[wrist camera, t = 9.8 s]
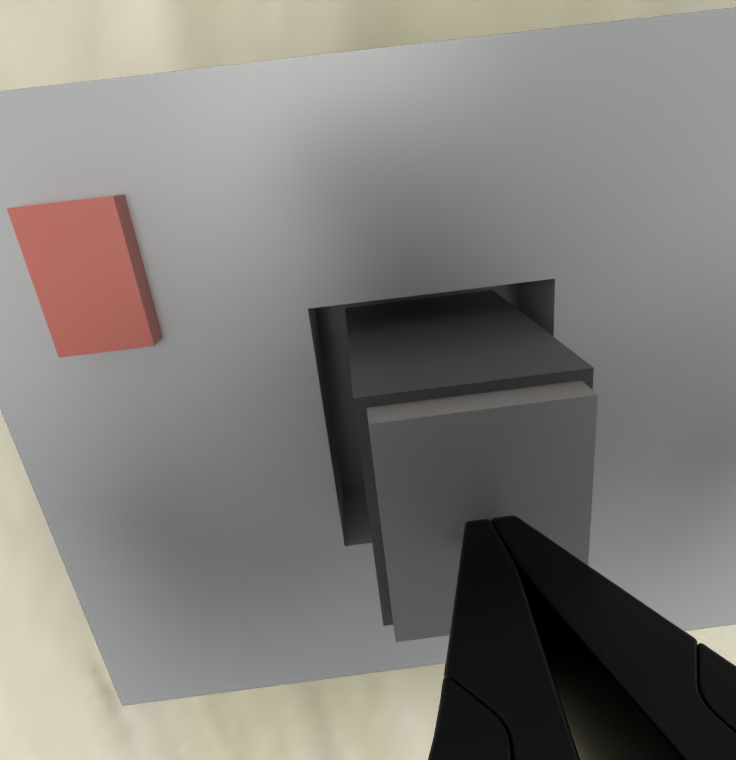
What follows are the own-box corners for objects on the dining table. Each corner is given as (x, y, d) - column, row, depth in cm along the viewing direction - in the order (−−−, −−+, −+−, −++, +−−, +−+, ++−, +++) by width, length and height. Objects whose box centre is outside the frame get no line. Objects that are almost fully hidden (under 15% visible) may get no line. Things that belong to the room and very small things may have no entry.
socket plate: (807, 23, 13) (973, -27, 10) (715, 551, 19) (798, 634, 16) (-23, 119, 13) (-152, 100, 9) (153, 625, 19) (114, 725, 15)
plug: (492, 289, 14) (611, 381, 8) (496, 451, 16) (595, 623, 10) (345, 308, 14) (354, 413, 8) (365, 467, 16) (386, 651, 10)
